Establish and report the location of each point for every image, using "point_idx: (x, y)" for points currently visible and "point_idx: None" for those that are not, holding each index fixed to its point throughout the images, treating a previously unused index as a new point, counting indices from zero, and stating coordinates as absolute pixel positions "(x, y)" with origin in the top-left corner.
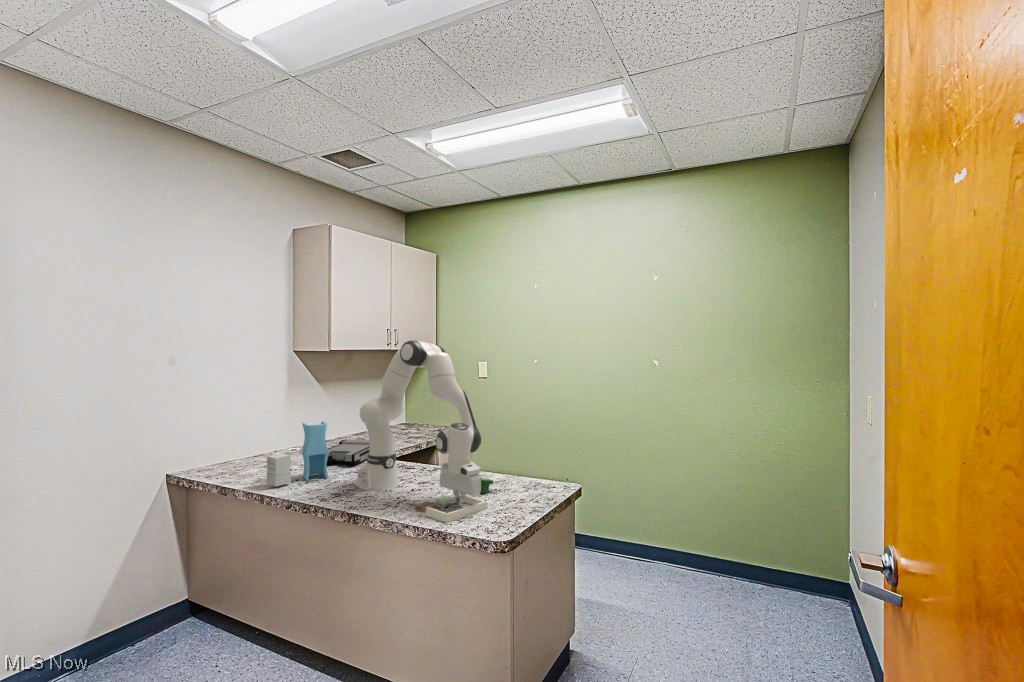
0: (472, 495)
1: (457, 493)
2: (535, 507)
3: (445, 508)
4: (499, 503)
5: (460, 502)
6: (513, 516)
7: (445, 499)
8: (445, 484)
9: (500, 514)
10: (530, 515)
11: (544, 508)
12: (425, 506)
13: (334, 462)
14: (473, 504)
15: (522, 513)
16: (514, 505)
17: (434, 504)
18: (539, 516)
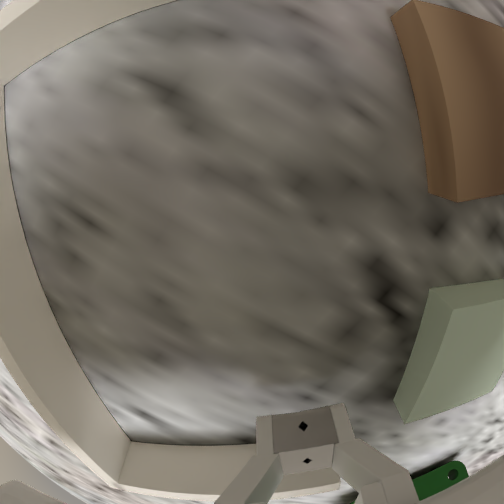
0: (17, 481)
1: (360, 485)
2: (96, 498)
3: (364, 263)
4: (195, 500)
5: (257, 422)
6: (14, 425)
7: (474, 349)
8: None
9: (38, 424)
10: (23, 449)
11: (81, 496)
12: (459, 42)
13: None
14: (229, 456)
15: (43, 456)
16: (139, 500)
17: (468, 169)
18: (15, 450)
